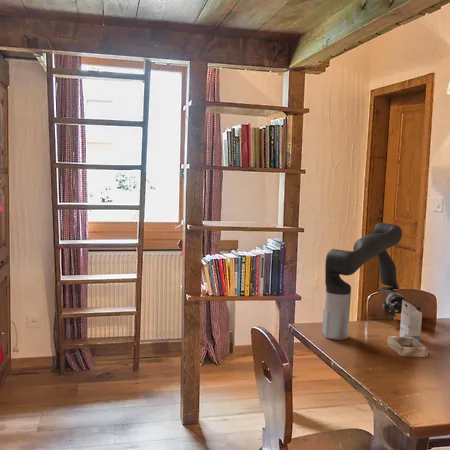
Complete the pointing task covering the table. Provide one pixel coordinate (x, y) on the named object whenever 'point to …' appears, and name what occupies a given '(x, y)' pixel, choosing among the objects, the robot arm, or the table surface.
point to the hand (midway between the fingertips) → (405, 312)
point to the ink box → (410, 322)
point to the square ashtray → (413, 351)
